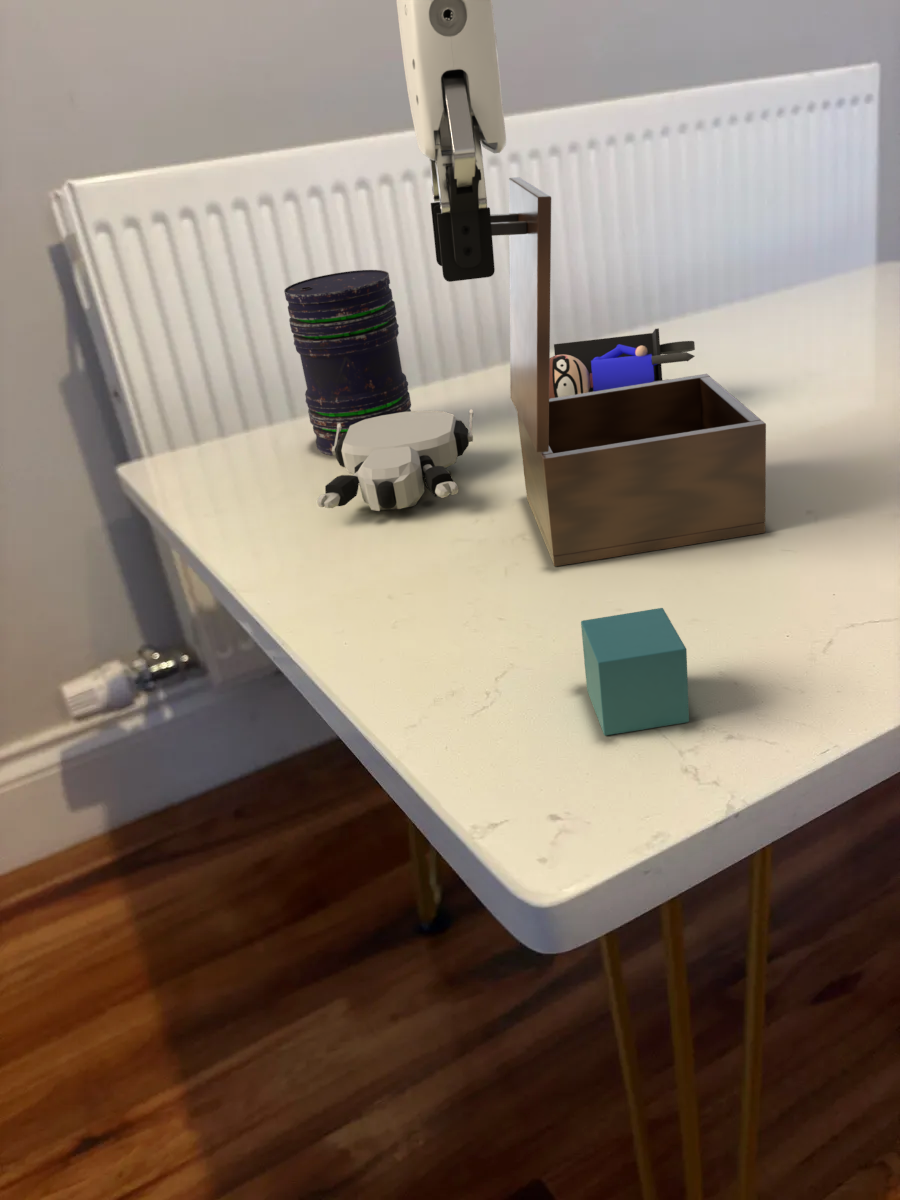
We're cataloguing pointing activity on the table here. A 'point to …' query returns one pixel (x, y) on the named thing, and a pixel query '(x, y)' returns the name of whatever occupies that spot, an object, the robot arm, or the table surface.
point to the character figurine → (612, 363)
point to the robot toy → (397, 459)
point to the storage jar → (347, 350)
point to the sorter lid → (529, 304)
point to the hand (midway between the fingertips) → (464, 267)
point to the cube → (635, 671)
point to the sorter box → (646, 470)
